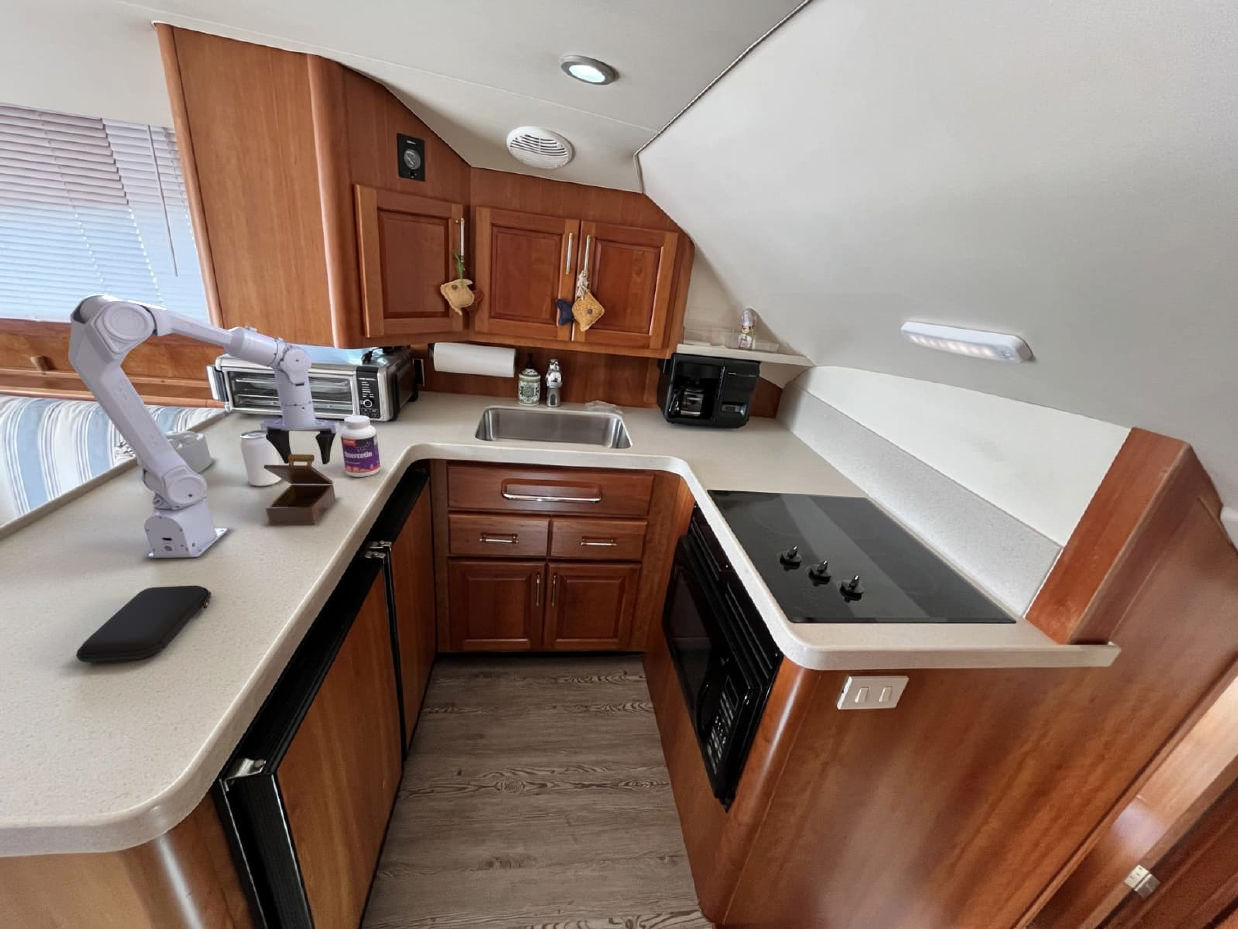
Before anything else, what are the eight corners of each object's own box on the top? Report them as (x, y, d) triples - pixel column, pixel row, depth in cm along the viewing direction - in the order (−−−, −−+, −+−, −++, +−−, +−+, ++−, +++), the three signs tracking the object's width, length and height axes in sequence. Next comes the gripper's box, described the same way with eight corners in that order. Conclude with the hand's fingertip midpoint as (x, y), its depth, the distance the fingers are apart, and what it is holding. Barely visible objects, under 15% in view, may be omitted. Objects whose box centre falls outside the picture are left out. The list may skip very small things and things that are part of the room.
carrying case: (165, 663, 67) (224, 595, 80) (159, 646, 65) (220, 579, 79) (71, 670, 64) (148, 598, 78) (63, 652, 63) (142, 582, 77)
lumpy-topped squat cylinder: (217, 459, 126) (209, 427, 122) (188, 480, 114) (178, 446, 111) (170, 459, 124) (160, 427, 120) (135, 481, 112) (123, 446, 109)
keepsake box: (315, 524, 101) (312, 508, 100) (269, 524, 100) (265, 508, 98) (335, 499, 112) (333, 484, 110) (294, 499, 110) (291, 484, 109)
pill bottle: (342, 479, 121) (333, 424, 115) (349, 466, 128) (342, 413, 123) (378, 478, 123) (371, 423, 118) (383, 465, 130) (377, 413, 125)
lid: (310, 468, 99) (313, 446, 100) (263, 468, 97) (267, 445, 99) (332, 484, 110) (335, 464, 111) (290, 484, 108) (294, 464, 110)
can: (266, 488, 114) (255, 440, 109) (242, 484, 115) (230, 436, 110) (288, 478, 119) (279, 431, 115) (266, 473, 120) (255, 427, 116)
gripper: (341, 398, 106) (349, 455, 112) (267, 395, 104) (280, 454, 109) (328, 407, 100) (337, 468, 105) (249, 405, 98) (263, 467, 103)
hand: (307, 462), depth 107 cm, fingers open, 7 cm apart
